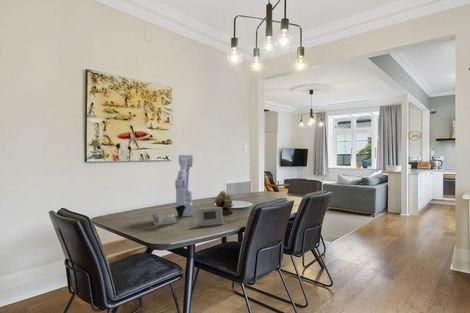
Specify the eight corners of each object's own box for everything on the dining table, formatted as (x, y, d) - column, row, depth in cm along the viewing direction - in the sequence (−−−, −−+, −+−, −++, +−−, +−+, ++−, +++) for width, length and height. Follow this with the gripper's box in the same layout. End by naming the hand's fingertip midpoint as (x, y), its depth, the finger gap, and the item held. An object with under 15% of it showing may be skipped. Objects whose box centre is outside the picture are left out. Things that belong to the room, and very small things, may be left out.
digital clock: (198, 227, 178) (198, 209, 177) (197, 223, 186) (197, 207, 186) (224, 226, 181) (224, 209, 181) (221, 222, 190) (222, 206, 190)
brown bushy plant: (237, 213, 218) (237, 190, 218) (226, 216, 210) (226, 192, 209) (220, 209, 230) (220, 188, 230) (209, 212, 222) (210, 190, 221)
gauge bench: (173, 219, 197) (173, 212, 197) (177, 223, 187) (177, 215, 187) (152, 221, 191) (152, 213, 191) (155, 225, 181) (155, 217, 181)
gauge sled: (173, 218, 193) (173, 212, 193) (174, 220, 189) (175, 213, 189) (165, 219, 191) (165, 213, 191) (166, 220, 187) (166, 214, 187)
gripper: (183, 194, 201) (182, 214, 201) (168, 197, 189) (168, 218, 189) (191, 195, 198) (190, 215, 198) (176, 198, 185) (176, 219, 185)
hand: (180, 217), depth 193 cm, fingers closed
